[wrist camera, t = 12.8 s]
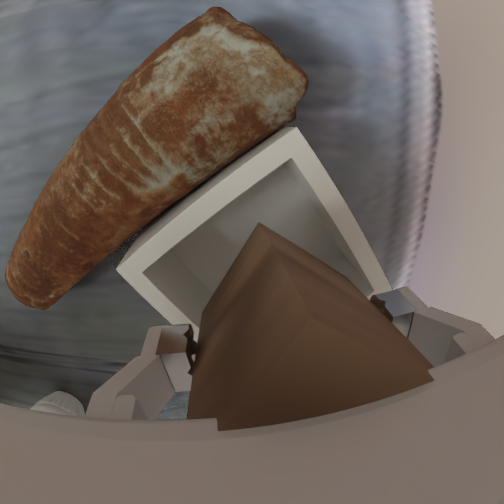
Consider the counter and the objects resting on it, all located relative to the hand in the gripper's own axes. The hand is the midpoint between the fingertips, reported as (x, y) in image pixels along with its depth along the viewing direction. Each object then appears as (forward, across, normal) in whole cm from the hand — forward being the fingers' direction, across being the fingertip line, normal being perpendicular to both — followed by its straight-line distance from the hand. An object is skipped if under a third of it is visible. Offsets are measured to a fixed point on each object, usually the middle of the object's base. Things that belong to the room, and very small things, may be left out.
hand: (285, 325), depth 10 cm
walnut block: (+2, 0, 0) cm, 3 cm away
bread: (+8, +7, -5) cm, 11 cm away
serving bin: (+7, 0, 0) cm, 7 cm away
